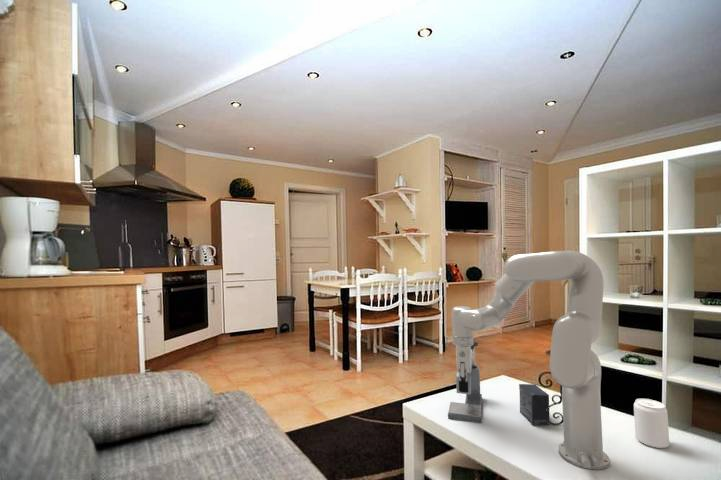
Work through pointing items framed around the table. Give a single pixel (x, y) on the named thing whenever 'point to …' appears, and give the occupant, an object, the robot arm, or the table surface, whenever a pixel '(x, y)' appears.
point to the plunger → (473, 353)
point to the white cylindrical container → (651, 423)
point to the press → (469, 402)
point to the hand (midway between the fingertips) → (464, 388)
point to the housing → (468, 383)
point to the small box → (534, 404)
